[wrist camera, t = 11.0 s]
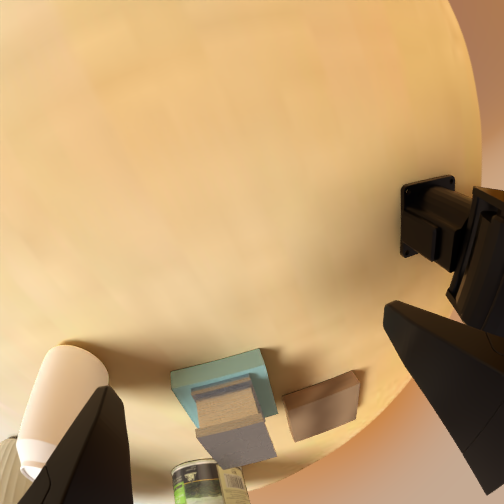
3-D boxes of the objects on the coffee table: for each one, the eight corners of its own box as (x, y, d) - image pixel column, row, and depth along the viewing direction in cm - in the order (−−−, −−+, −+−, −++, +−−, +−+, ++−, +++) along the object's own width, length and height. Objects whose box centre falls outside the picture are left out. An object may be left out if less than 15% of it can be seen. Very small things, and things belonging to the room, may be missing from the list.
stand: (259, 348, 25) (264, 364, 23) (272, 399, 29) (278, 413, 27) (170, 371, 24) (171, 388, 22) (199, 418, 28) (201, 433, 26)
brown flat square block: (351, 370, 30) (360, 383, 28) (349, 407, 33) (355, 419, 32) (282, 396, 29) (287, 410, 27) (290, 429, 32) (294, 442, 31)
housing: (263, 415, 27) (277, 456, 22) (214, 427, 26) (223, 470, 22) (248, 373, 23) (263, 421, 19) (190, 388, 23) (196, 437, 18)
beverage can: (45, 373, 22) (16, 480, 11) (49, 327, 20) (5, 449, 9) (104, 394, 24) (94, 506, 13) (117, 353, 22) (102, 484, 12)
